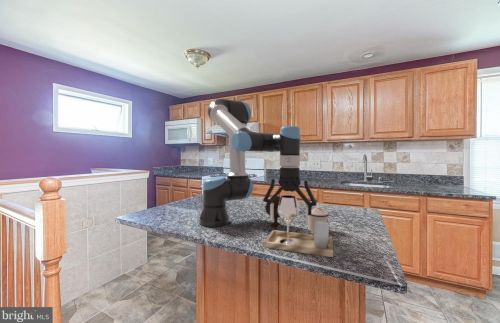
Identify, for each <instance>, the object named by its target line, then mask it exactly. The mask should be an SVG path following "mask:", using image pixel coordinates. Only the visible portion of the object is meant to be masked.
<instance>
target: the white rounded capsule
mask: <svg viewBox="0 0 500 323" xmlns="http://www.w3.org/2000/svg"><path fill="white" fill-rule="evenodd" d="M329 224H330V223H329V222H328V223H327V222H324V221H316V222H315V223H314V232H313V235H314V247H315V248H319V249H326V250H327V249H328V237H329V232H330V230H329V228H330V226H329Z"/></svg>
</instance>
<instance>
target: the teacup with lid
mask: <svg viewBox="0 0 500 323" xmlns="http://www.w3.org/2000/svg"><path fill="white" fill-rule="evenodd" d="M329 216H330V215H329V212H328V211H326V210H324V209H322V207H321V206H319V205H318V206H317V205H316V206H315V208H313V209H312V213H311V215H308V226H307V227H308V230H309V231H310V232H313V233H314V223H315V222H316V221H324V222H327V223H329Z"/></svg>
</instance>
